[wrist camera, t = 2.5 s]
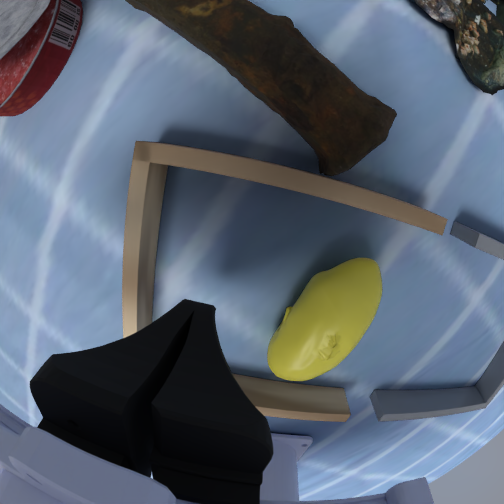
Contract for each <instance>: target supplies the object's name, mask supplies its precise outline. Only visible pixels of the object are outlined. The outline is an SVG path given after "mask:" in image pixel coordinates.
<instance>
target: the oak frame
mask: <svg viewBox="0 0 504 504" xmlns="http://www.w3.org/2000/svg"><path fill="white" fill-rule="evenodd" d="M168 165H171V166H177V167H183V168H188V169H194V170H200V171H205V172H210V173H216V174H221V175H226V176H231V177H236V178H240V179H245V180H250V181H254V182H259V183H263V184H268V185H272V186H276V187H281V188H285V189H289V190H293V191H297V192H301V193H305V194H309V195H313V196H317V197H321V198H324V199H328V200H332V201H335V202H339V203H343V204H346V205H350V206H353V207H357V208H360V209H363V210H367V211H370V212H373V213H377V214H380V215H383V216H386V217H389V218H393V219H396V220H399V221H402V222H405V223H408V224H411V225H414V226H417V227H420V228H423V229H426V230H428V231H431V232H434V233H437V234H440V235H443V232H444V229H445V226H446V222H447V219H446V218H443V217H441V216H439V215H437V214H435V213H432V212H430V211H428V210H425V209H423V208H420V207H418V206H415V205H412V204H410V203H407V202H404V201H401V200H399V199H396V198H393V197H390V196H387V195H384V194H381V193H378V192H375V191H372V190H369V189H366V188H363V187H359V186H356V185H353V184H350V183H346V182H343V181H340V180H336V179H333V178H329V177H326V176H322V175H318V174H315V173H311V172H307V171H303V170H299V169H295V168H291V167H287V166H283V165H279V164H275V163H271V162H266V161H262V160H257V159H252V158H248V157H243V156H238V155H233V154H228V153H223V152H217V151H212V150H206V149H200V148H194V147H188V146H181V145H174V144H167V143H160V142H147V141H136V142H135V148H134V154H133V160H132V167H131V174H130V182H129V190H128V199H127V208H126V219H125V232H124V249H123V279H122V307H123V337H124V338H125V337H127V336H130V335H132V334H134V333H136V332H137V331H139V330H141V329H143V328H144V327H146V326H148V325H149V324H151V323H152V308H153V290H154V276H155V264H156V253H157V243H158V234H159V225H160V217H161V209H162V202H163V195H164V188H165V182H166V176H167V170H168ZM232 374H233V373H232ZM233 376H234V378H235V379H236V381H237V382H238V384H239V386H240V387H241V389H242V390H243V392H244V393H245V395H246V396H247V397H248V398H249V400H250V401H251V402H252V404H253V405H254V406H255V407H256V408H257V409H258V410H259V411H260V412H261V413H262V414H263V415H264V416H271V417H280V418H289V419H300V420H314V421H335V422H346V421H347V419H348V418H349V417H350V415H351V413H350V409H349V406H348V402H347V398H346V395H345V391H344V388H334V387H322V386H312V385H303V384H295V383H287V382H280V381H273V380H267V379H261V378H255V377H249V376H244V375H238V374H233Z"/></svg>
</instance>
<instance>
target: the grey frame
mask: <svg viewBox="0 0 504 504" xmlns="http://www.w3.org/2000/svg"><path fill="white" fill-rule="evenodd" d="M450 234H451V235H453V236H455V237H457V238H459V239H460V240H462V241H464V242H466V243H467V244H469V245H471V246H473V247H474V248H477V249H479V250H482V251H484V252H486V253H489V254H491V255H494V256H496V257H498V258H501V259H503V260H504V243H502V242H499V241H497V240H495V239H493V238H491V237H489V236H487V235H485V234H483V233H480V232H478V231H476V230H474V229H472V228H469V227H467V226H465V225H463V224H460V223H458V222H455V221H454V224H453V227H452V230H451V233H450ZM503 384H504V342H503V344H502V345H501V347H500V349H499V351H498V352H497V354H496V355H495V357H494V359H493V360H492V362H491V363H490V365H489V366H488V368H487V369H486V371H485V372H484V374H483V375H482V377H481V378H480V380H479V381H478V383H477V384H476V385H475V386H472V387H462V388H449V389H431V390H374V391H373V393H372V394H371V396H370V399H371V402H372V405H373V408H374V410H375V413H376V416H377V419H378V421H398V420H411V419H422V418H431V417H438V416H446V415H452V414H458V413H464V412H469V411H474V410H479V409H483V408H486V407H487V405H488V404H489V403H490V402H491V400H492V399H493V398H494V397H495V395H496V394H497V393H498V391H499V390H500V389H501V387H502V386H503Z"/></svg>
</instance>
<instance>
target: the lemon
mask: <svg viewBox="0 0 504 504" xmlns="http://www.w3.org/2000/svg"><path fill="white" fill-rule="evenodd" d="M381 296H382V278H381V273H380V269H379V266H378V264H377V263H376V262H375V261H374V260H373V259H370V258H354V259H351V260H348V261H346V262H343V263H341V264H339V265H338V266H336V267H334V268H332V269H330V270H327V271H322V272H319V273H317V274H316V275H314V276H313V277H312V278H311V280H310V281H309V282H308V284H307V285H306V287H305V289H304V290H303V292H302V294H301V296H300V297H299V298H298V300H297V301H296V303H295V304H294V306H293V307H289V308H286V313H285V316H284V319H283V321H282V323H281V325H280V326H279V327H278V329H277V330H276V331H275V333H274V334H273V336H272V338H271V340H270V343H269V346H268V353H267V360H268V365H269V367H270V369H271V371H272V372H273V373H274V374H275V375H276V376H277V377H280V378H282V379H285V380H290V381H305V380H309V379H313V378H315V377H317V376H319V375H322V374H324V373H326V372H328V371H329V370H331V369H333V368H334V367H336V366H337V365H338V364H339V363H341V362H342V361H343V360H344V359H345V358H346V357H347V356H348V354H349V353H350V352H351V351H352V350H353V349H354V348H355V347H356V345H357V344H358V343H359V341H360V339H361V338H362V337H363V335H364V334H365V332H366V331H367V329H368V327H369V326H370V324H371V322H372V321H373V319H374V317H375V314H376V312H377V309H378V306H379V303H380V300H381Z"/></svg>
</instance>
